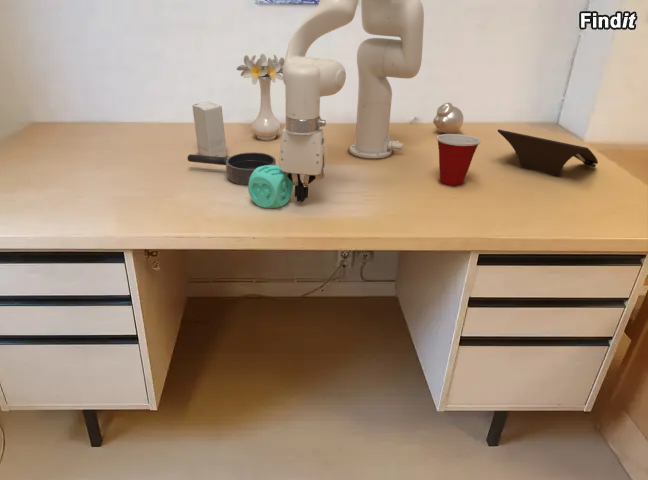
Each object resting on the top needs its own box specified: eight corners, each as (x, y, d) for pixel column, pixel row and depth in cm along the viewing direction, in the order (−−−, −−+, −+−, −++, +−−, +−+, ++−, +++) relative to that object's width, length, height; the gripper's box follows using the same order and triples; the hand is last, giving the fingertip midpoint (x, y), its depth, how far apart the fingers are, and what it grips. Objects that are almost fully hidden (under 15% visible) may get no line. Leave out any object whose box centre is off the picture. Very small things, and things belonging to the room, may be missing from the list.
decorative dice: (266, 192, 140) (265, 162, 135) (293, 199, 136) (293, 168, 132) (248, 204, 134) (247, 172, 130) (276, 211, 130) (276, 179, 126)
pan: (281, 170, 153) (281, 154, 151) (267, 188, 142) (266, 171, 140) (237, 165, 156) (236, 150, 154) (219, 183, 145) (218, 166, 143)
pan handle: (230, 164, 150) (229, 156, 149) (227, 166, 149) (226, 159, 148) (189, 160, 153) (188, 153, 152) (186, 162, 151) (185, 155, 150)
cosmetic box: (227, 157, 162) (224, 106, 155) (209, 161, 160) (204, 109, 152) (214, 149, 168) (210, 100, 161) (196, 153, 166) (191, 103, 158)
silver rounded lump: (430, 129, 184) (434, 98, 179) (459, 130, 183) (464, 99, 178) (432, 137, 177) (436, 105, 171) (463, 138, 175) (468, 106, 170)
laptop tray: (592, 190, 154) (606, 158, 152) (576, 176, 136) (591, 139, 134) (512, 170, 167) (523, 140, 166) (487, 155, 149) (500, 121, 147)
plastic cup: (474, 177, 148) (482, 132, 141) (471, 192, 139) (480, 146, 133) (432, 172, 151) (438, 129, 144) (428, 187, 142) (434, 141, 136)
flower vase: (298, 142, 173) (298, 58, 160) (239, 143, 173) (235, 59, 160) (295, 130, 184) (296, 50, 171) (240, 131, 184) (236, 51, 171)
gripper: (338, 121, 124) (335, 197, 134) (275, 117, 128) (276, 191, 137) (332, 131, 118) (328, 209, 128) (265, 126, 122) (267, 202, 131)
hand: (301, 199), depth 132 cm, fingers closed
